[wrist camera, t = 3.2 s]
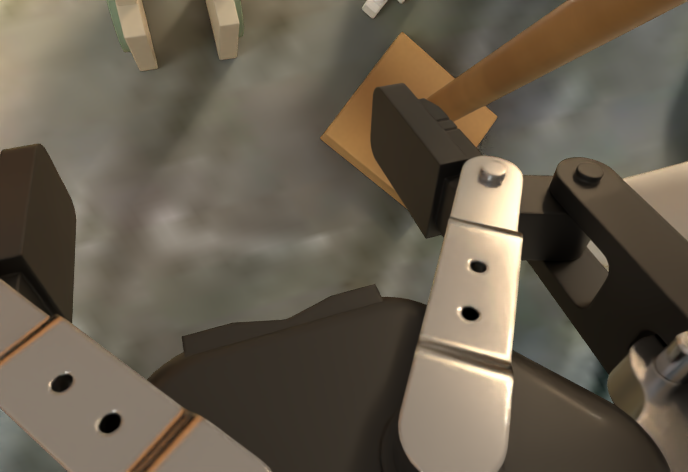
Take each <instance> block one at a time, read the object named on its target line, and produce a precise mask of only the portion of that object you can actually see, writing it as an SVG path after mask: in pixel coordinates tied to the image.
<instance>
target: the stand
mask: <svg viewBox="0 0 688 472" xmlns="http://www.w3.org/2000/svg"><path fill="white" fill-rule="evenodd" d="M687 1H688V0H567V1H566V2H564V3H563V4H561V5H560V6H559V7H557V8H556V9H554V10H553V11H551V12H550V13H549V14H547V15H546V16H544V17H543V18H541V19H540V20H539V21H537V22H536V23H534V24H533V25H531V26H530V27H528V28H527V29H526V30H524V31H523V32H521V33H520V34H518V35H517V36H516V37H514V38H513V39H511V40H510V41H508V42H507V43H506V44H504V45H503V46H501V47H500V48H498V49H497V50H495V51H494V52H493V53H491V54H490V55H488V56H487V57H485V58H484V59H483V60H481V61H480V62H478V63H477V64H475V65H474V66H473V67H471V68H470V69H468V70H467V71H465V72H464V73H463V74H461V75H460V76H458V77H457V78H454V77H452V76H451V75H450V74H449V73H448V72H447V71H446V70H445V69H444V68H442V67H441V66H440V65H439V64H438V63H437V62H436V61H435V60H433V59H432V58H431V57H430V56H429V55H428V54H427V53H426V52H425V51H423V50H422V49H421V48H420V47H419V46H418V45H417V44H416V43H414V42H413V41H412V40H411V39H410V38H409V37H408V36H407V35H406V34H404V33H403V32H401V33H400V34H399V36H398V37H397V38H396V39H395V40H394V41H393V43H392V44H391V45H390V47H389V48H388V49H387V51H386V52H385V53H384V55H383V56H382V57H381V59H380V60H379V61H378V62H377V64H376V65H375V66H374V68H373V69H372V70H371V72H370V73H369V74H368V76H367V77H366V78H365V80H364V81H363V82H362V83H361V85H360V86H359V87H358V89H357V90H356V91H355V93H354V94H353V95H352V97H351V98H350V99H349V101H348V102H347V103H346V104H345V106H344V107H343V108H342V110H341V111H340V112H339V114H338V115H337V116H336V118H335V119H334V120H333V122H332V123H331V124H330V125H329V127H328V128H327V129H326V131H325V132H324V133H323V135H322V136H321V137H320V139H321V140H322V141H324V142H325V143H326V144H327V145H329V146H330V147H331V148H332V149H334V150H335V151H336V152H337V153H338V154H340V155H341V156H342V157H343V158H345V159H346V160H347V161H348V162H350V163H351V164H352V165H353V166H355V167H356V168H357V169H358V170H360V171H361V172H362V173H363V174H364V175H366V176H367V177H368V178H369V179H371V180H372V181H373V182H374V183H376V184H377V185H378V186H379V187H381V188H382V189H383V190H384V191H386V192H387V193H388V194H389V195H390V196H392V197H393V198H394V199H395V200H397V201H398V202H399V203H400V204H402V205H403V206H404V207H405V205H404V204H403V202H402V200H401V199H400V197H399V196H398V194H397V193H396V191H395V190H394V188H393V186H392V185H391V183H390V182H389V180H388V179H387V177H386V175H385V174H384V172H383V171H382V169H381V168H380V166H379V165H378V163H377V161H376V160H375V158H374V156H373V153H372V149H371V142H370V133H371V117H372V100H373V92H374V89H375V88H376V87H380V86H386V85H392V84H398V83H404V84H406V86H407V87H408V88H409V89H410V90H411V91H412V92H413V94H414V95H415V96H416V97H417V98H418V99H421V98H425V99H426V100H428V101H430V102H432V103H434V104H436V105H437V106H439V107H440V108H441V109H442V110H443V111H444V112H445V113H446V114H447V115H448V117H449V119H450V120H452V121H453V122H454V123H455V124H456V125H457V128H458V129H460V130H461V131H462V132H463V133H464V134H465V136H466V137H467V138H468V139H469V140H470V141H471V142H472V143H473V144H474V146H475V147H477V146H478V145H479V143H480V142H481V140H482V139H483V137H484V136H485V134H486V133H487V132H488V130H489V129H490V127H491V126H492V124H493V123H494V122H495V120H496V119H497V116H496V115H495V114H494V113H493V112H492V111H490V110H489V109H488V108H487V107H486V106H485V105H487V104H489V103H491V102H493V101H495V100H497V99H499V98H501V97H503V96H505V95H507V94H508V93H510V92H512V91H514V90H516V89H518V88H520V87H522V86H524V85H526V84H528V83H530V82H532V81H534V80H536V79H538V78H539V77H541V76H543V75H545V74H547V73H549V72H551V71H553V70H555V69H557V68H559V67H561V66H563V65H565V64H567V63H569V62H571V61H572V60H574V59H576V58H578V57H580V56H582V55H584V54H586V53H588V52H590V51H592V50H594V49H596V48H598V47H600V46H602V45H603V44H605V43H607V42H609V41H611V40H613V39H615V38H617V37H619V36H621V35H623V34H625V33H627V32H629V31H631V30H633V29H634V28H636V27H638V26H640V25H642V24H644V23H646V22H648V21H650V20H652V19H654V18H656V17H658V16H660V15H662V14H664V13H665V12H667V11H669V10H671V9H673V8H675V7H677V6H679V5H681V4H683V3H685V2H687ZM405 208H406V207H405Z"/></svg>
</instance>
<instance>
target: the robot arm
mask: <svg viewBox="0 0 688 472" xmlns="http://www.w3.org/2000/svg"><path fill="white" fill-rule="evenodd" d="M370 142H371V149H372V153H373V156H374V158H375V160H376V161H377V163H378V165H379V166H380V168H381V169H382V171H383V172H384V174H385V175H386V177H387V179H388V180H389V182H390V183H391V185H392V186H393V188H394V190H395V191H396V193H397V194H398V196H399V197H400V199H401V200H402V202H403V204H404V205H405V207H406V208H407V210H408V211H409V213H410V214H411V216H412V218H413V219H414V221H415V222H416V224H417V225H418V227H419V228H420V230H421V232H422V233H423V235H424V236H425V238H426V239H427V238H430V237H434V236H438V235H442V236H443V237H444V240H443V244H442V248H441V252H440V256H439V260H438V264H437V268H436V272H435V276H434V280H433V284H432V288H431V292H430V296H429V300H428V304H427V305H425V304H422V303H420V302H416V301H413V300H409V299H403V298H396V297H381V295H380V293H379V291H378V289H377V287H376V285H375V284H373V285H369V286H366V287H362V288H358V289H355V290H351V291H347V292H344V293H340V294H336V295H333V296H330V297H328V298H326V299H324V300H322V301H321V302H319V303H317V304H315V305H313V306H311V307H309V308H307V309H306V310H304V311H302V312H300V313H298V314H296V315H294V316H292V317H290V318H288V319H285V320H272V321H255V322H237V323H230V324H226V325H223V326H219V327H215V328H212V329H208V330H204V331H201V332H197V333H193V334H190V335H186V336H182V342H183V349H184V352H183V353H181V354H179V355H177V356H176V357H174V358H173V359H171V360H170V361H168V362H167V363H165V364H164V365H163V366H161V367H160V368H159V369H158V370H156V371H155V372H154V373H153V374H152V375H151V376H150V377H149V378H148V379H147V380H146V379H145V378H143V377H142V376H141V375H139V374H138V373H137V372H135V371H134V370H133V369H131V368H130V367H129V366H127V365H126V364H125V363H123V362H122V361H121V360H119V359H118V358H117V357H115V356H114V355H113V354H111V353H110V352H109V351H107V350H106V349H105V348H103V347H102V346H101V345H99V344H98V343H97V342H95V341H94V340H93V339H91V338H90V337H89V336H87V335H86V334H85V333H84V332H82V331H81V330H80V329H78V328H77V327H76V326H74V325H73V324H72V313H73V288H74V263H75V238H76V214H75V209H74V206H73V203H72V200H71V197H70V195H69V193H68V191H67V189H66V187H65V185H64V183H63V182H62V180H61V178H60V176H59V174H58V172H57V170H56V168H55V166H54V164H53V162H52V160H51V158H50V156H49V155H48V153H47V151H46V149H45V148H44V147H43V145H41V144H33V145H27V146H21V147H16V148H10V149H4V150H2V151H1V154H0V408H1V409H2V410H3V411H4V412H5V413H6V414H7V415H8V416H9V417H10V418H11V419H12V420H14V421H15V422H16V423H17V424H18V425H19V426H20V427H21V428H22V429H23V430H24V431H25V432H26V433H27V434H28V435H30V436H31V437H32V438H33V439H34V440H35V441H36V442H37V443H38V444H39V445H40V446H41V447H42V448H43V449H44V450H46V451H47V452H48V453H49V454H50V455H51V456H52V457H53V458H54V459H55V460H56V461H57V462H58V463H59V464H60V465H62V466H63V467H64V468H65V469H66V470H67V471H68V472H688V241H687V240H686V239H685V238H684V237H683V236H682V235H681V234H680V233H679V232H678V231H677V230H676V229H675V228H674V227H673V226H671V225H670V224H669V223H668V222H667V221H666V220H665V219H664V218H663V217H662V216H661V215H660V214H659V213H658V212H657V211H656V210H655V209H654V208H652V207H651V206H650V205H649V204H648V203H647V202H646V201H645V200H644V199H643V198H642V197H641V196H640V195H639V194H638V193H637V192H636V191H635V190H633V189H632V188H631V187H630V186H629V185H628V184H627V183H626V182H625V181H624V180H623V179H622V178H621V177H620V176H619V175H618V174H617V173H616V172H614V171H613V170H612V169H611V168H610V167H608V166H607V165H605V164H603V163H601V162H599V161H596V160H593V159H589V158H582V157H573V158H568V159H565V160H563V161H561V162H560V163H559V164H558V166H557V168H556V171H555V173H554V176H537V175H522V173H521V171H520V170H519V168H518V167H517V166H515V165H514V164H513V163H511V162H509V161H507V160H505V159H502V158H499V157H495V156H483V154H482V153H481V152H480V151H479V150H478V149H477V148H476V147H475V146H474V144H473V143H472V142H471V141H470V140H469V139H468V138H467V137H466V136H465V134H464V133H463V132H462V131H461V130H460V129H458V128H457V125H456V124H455V123H454V122H453V121H452V120H450V119H449V117H448V115H447V114H446V113H445V112H444V111H443V110H442V109H441V108H440V107H439V106H437V105H436V104H434V103H432V102H430V101H428V100H426V99H425V98H421V99H418V98H417V97H416V96H415V95H414V94H413V92H412V91H411V90H410V89H409V88H408V87H407V86H406V84H404V83H398V84H392V85H386V86H380V87H376V88H375V89H374V92H373V100H372V117H371V133H370ZM590 240H591V241H592V242H593V243H594V244H595V245H596V246H597V248H598V249H599V250H600V251H601V252H602V253H603V255H604V256H605V258H606V259H607V262H608V266H609V272H608V271H607V270H606V269H605V268H604V266H603V265H602V264H601V263H600V262H599V261H598V259H597V258H596V257H595V256H594V255H593V253H592V252H591V251H590V250H589V249H588V248H587V245H588V243H589V242H590ZM521 260H527V261H528V263H529V264H530V265H531V267H532V268H533V270H534V271H535V272H536V274H537V275H538V277H539V278H540V279H541V281H542V282H543V284H544V285H545V286H546V288H547V289H548V291H549V292H550V293H551V295H552V296H553V298H554V299H555V300H556V302H557V303H558V304H559V306H560V307H561V309H562V310H563V311H564V313H565V314H566V316H567V317H568V318H569V320H570V321H571V323H572V324H573V325H574V327H575V328H576V330H577V331H578V332H579V334H580V335H581V337H582V338H583V339H584V341H585V342H586V344H587V345H588V346H589V348H590V349H591V351H592V352H593V353H594V355H595V356H596V358H597V359H598V360H599V362H600V363H601V365H602V366H603V367H604V369H605V370H606V372H607V373H608V374H609V376H608V380H607V387H608V392H609V395H610V397H611V399H612V401H613V403H614V404H612V403H611V402H609V401H607V400H605V399H603V398H602V397H600V396H598V395H596V394H594V393H592V392H590V391H588V390H587V389H585V388H583V387H581V386H579V385H577V384H575V383H573V382H572V381H570V380H568V379H566V378H564V377H562V376H560V375H558V374H556V373H555V372H553V371H551V370H549V369H547V368H545V367H543V366H541V365H540V364H538V363H536V362H534V361H532V360H530V359H528V358H526V357H525V356H523V355H521V354H519V353H517V352H515V351H513V350H512V347H513V337H514V326H515V316H516V305H517V295H518V284H519V274H520V264H521Z"/></svg>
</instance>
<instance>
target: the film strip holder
mask: <svg viewBox="0 0 688 472" xmlns="http://www.w3.org/2000/svg"><path fill="white" fill-rule="evenodd" d="M387 1H388V0H385V1H384V0H367V1H366V2H365V4H364V5H363V7H362V10H363V11H364V12H365V13H366V14H367V15H369V16H370V17H371V18H374V17H375V16H376V15H377V13H378V12H379V11H380V10H381V8H382V7H383V6H384V4H385V3H386V2H387ZM397 1H399V2H400V3H403V2H404V1H405V0H397ZM383 2H384V3H383Z"/></svg>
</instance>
